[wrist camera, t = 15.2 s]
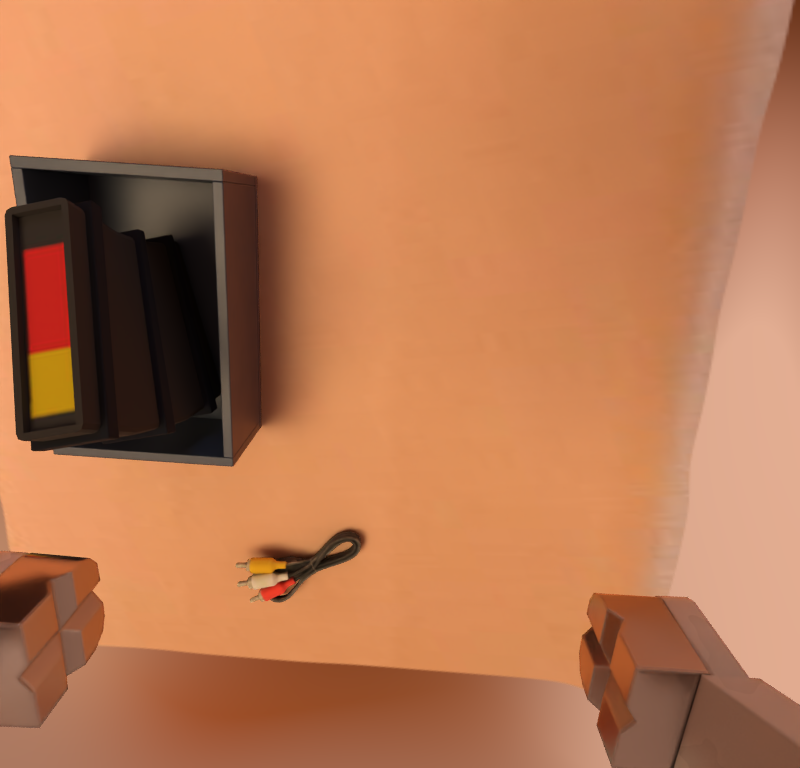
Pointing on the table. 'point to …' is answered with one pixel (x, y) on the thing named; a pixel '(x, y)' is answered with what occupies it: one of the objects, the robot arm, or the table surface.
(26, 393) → the magazine
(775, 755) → the robot arm
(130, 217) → the box
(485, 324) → the table surface
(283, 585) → the composite cable
